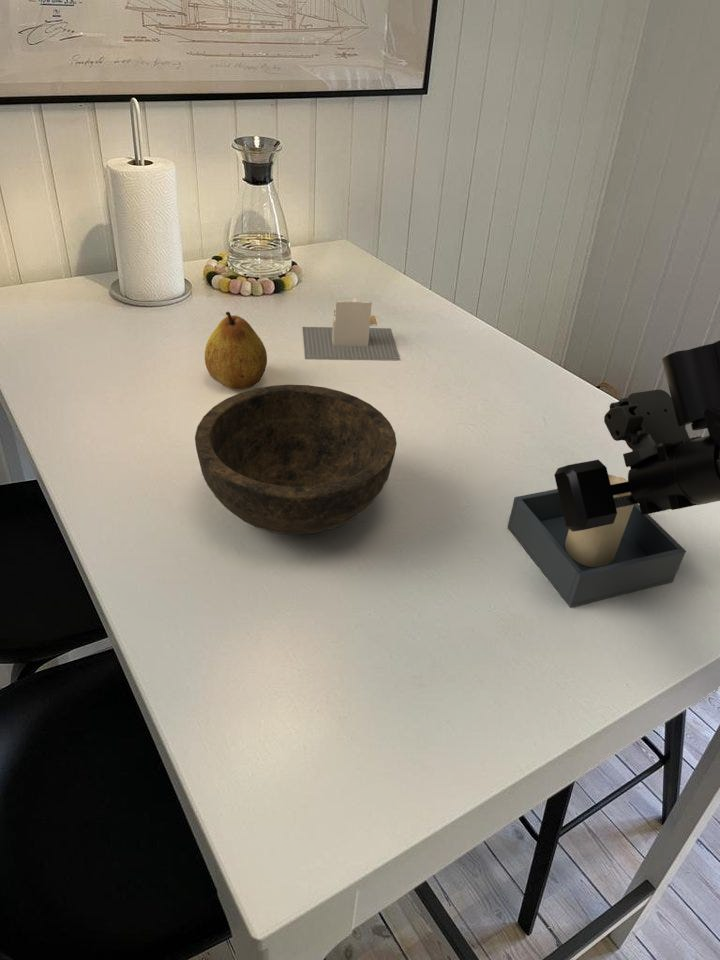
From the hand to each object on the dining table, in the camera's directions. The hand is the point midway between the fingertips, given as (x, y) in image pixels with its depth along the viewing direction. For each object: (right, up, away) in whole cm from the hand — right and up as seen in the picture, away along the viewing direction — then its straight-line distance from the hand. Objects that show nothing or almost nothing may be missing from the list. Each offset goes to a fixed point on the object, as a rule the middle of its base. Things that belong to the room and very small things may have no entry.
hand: (596, 494), depth 81 cm
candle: (0, -6, +3) cm, 7 cm away
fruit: (-44, +16, +29) cm, 55 cm away
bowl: (-33, -2, +7) cm, 34 cm away
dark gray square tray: (0, -7, +3) cm, 7 cm away
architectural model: (-27, +24, +41) cm, 55 cm away
